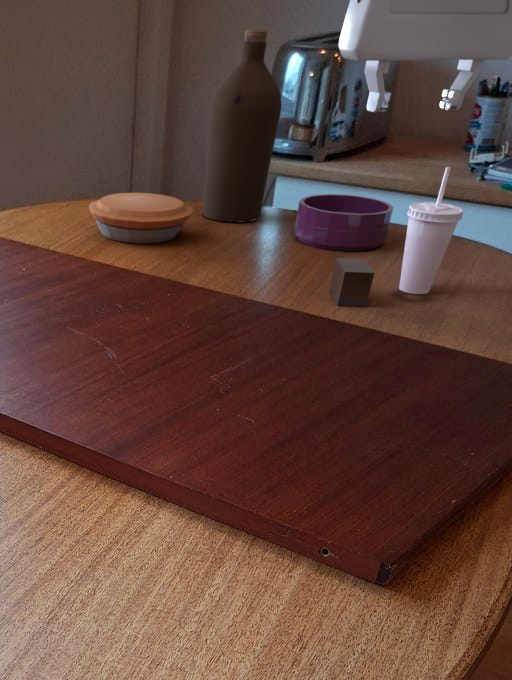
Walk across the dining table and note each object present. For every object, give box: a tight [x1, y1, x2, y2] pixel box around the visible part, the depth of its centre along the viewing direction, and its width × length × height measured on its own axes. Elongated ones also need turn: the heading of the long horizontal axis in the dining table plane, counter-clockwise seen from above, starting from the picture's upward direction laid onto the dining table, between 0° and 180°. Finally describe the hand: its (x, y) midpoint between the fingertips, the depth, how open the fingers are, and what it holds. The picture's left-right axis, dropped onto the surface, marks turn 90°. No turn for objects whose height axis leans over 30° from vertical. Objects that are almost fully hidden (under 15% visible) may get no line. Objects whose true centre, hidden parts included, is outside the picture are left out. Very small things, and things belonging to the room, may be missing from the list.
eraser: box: [328, 257, 375, 308], centre depth 108 cm, size 6×4×4 cm, turn 175°
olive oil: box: [201, 29, 282, 224], centre depth 135 cm, size 11×11×25 cm
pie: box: [88, 192, 194, 245], centre depth 131 cm, size 15×16×5 cm
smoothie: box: [398, 166, 464, 295], centre depth 108 cm, size 6×6×14 cm
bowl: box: [293, 193, 394, 252], centre depth 130 cm, size 13×13×5 cm
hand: (413, 110), depth 95 cm, fingers open, 8 cm apart
